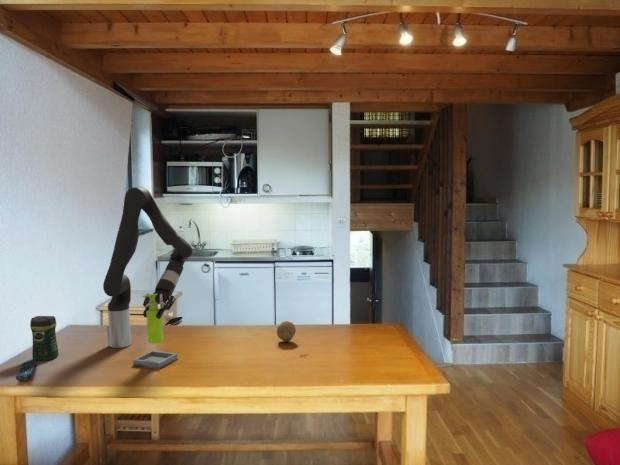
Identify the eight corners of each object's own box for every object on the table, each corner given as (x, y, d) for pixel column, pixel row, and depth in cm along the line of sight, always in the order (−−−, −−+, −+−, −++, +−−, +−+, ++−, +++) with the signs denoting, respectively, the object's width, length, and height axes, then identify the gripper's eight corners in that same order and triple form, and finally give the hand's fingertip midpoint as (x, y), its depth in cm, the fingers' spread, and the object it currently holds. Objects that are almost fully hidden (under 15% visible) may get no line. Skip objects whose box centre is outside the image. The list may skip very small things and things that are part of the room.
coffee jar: (61, 355, 212) (59, 313, 210) (50, 361, 204) (47, 318, 202) (41, 354, 213) (38, 313, 211) (29, 361, 205) (26, 318, 203)
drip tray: (133, 365, 199) (133, 359, 198) (152, 355, 210) (152, 350, 210) (159, 369, 194) (159, 363, 194) (177, 359, 205) (177, 353, 205)
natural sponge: (293, 345, 221) (292, 324, 220) (274, 344, 222) (273, 323, 221) (297, 339, 229) (297, 319, 228) (279, 338, 231) (279, 318, 230)
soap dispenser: (148, 339, 204) (144, 293, 202) (164, 338, 205) (161, 292, 202) (144, 344, 198) (140, 296, 196) (161, 343, 199) (158, 295, 197)
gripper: (149, 277, 208) (132, 311, 198) (177, 279, 203) (161, 313, 193) (158, 287, 214) (141, 320, 204) (185, 288, 209) (170, 323, 199)
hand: (151, 317), depth 199 cm, fingers closed on soap dispenser, 6 cm apart
